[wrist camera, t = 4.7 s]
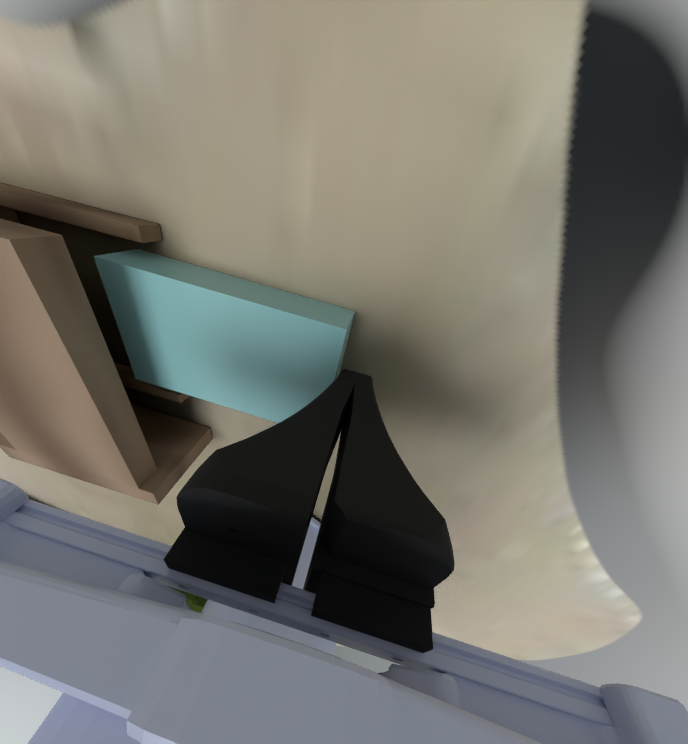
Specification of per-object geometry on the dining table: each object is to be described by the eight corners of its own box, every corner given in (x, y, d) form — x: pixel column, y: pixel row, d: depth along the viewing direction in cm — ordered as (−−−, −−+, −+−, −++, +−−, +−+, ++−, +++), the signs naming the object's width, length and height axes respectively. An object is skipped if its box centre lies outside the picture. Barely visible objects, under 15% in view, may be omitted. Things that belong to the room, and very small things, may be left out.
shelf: (177, 228, 10) (35, 242, 6) (212, 438, 18) (158, 504, 14) (-25, 176, 11) (-275, 158, 7) (94, 403, 18) (9, 457, 14)
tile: (356, 309, 11) (346, 329, 9) (330, 407, 14) (320, 435, 13) (142, 248, 11) (93, 256, 9) (168, 357, 15) (135, 378, 13)
